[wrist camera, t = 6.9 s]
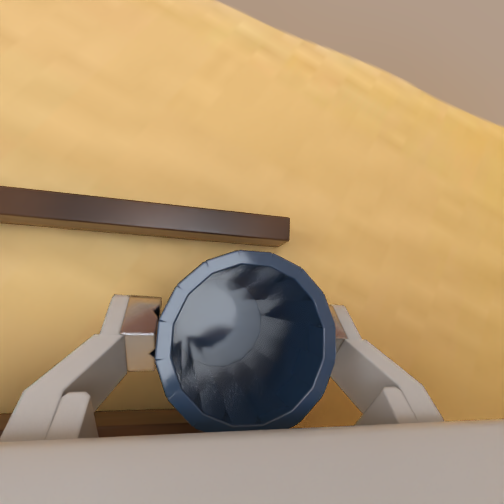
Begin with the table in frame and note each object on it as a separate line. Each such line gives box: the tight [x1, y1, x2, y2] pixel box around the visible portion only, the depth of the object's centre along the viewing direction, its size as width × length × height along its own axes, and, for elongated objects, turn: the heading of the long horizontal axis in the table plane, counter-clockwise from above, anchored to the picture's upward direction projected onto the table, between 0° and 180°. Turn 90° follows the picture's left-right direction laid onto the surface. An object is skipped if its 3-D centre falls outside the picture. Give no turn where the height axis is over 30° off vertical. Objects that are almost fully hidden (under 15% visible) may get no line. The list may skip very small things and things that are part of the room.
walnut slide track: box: [0, 186, 290, 437], centre depth 13 cm, size 18×10×2 cm, turn 88°
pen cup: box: [155, 250, 336, 433], centre depth 12 cm, size 5×5×8 cm
